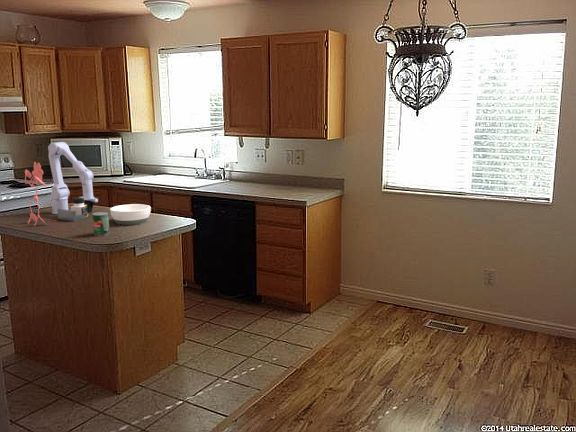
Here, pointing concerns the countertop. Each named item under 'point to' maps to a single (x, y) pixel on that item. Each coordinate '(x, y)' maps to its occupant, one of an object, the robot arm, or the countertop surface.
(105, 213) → the canned tomato
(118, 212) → the bowl
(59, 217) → the bracket
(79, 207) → the medicine bottle
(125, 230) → the countertop surface
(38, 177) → the figurine
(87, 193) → the robot arm
